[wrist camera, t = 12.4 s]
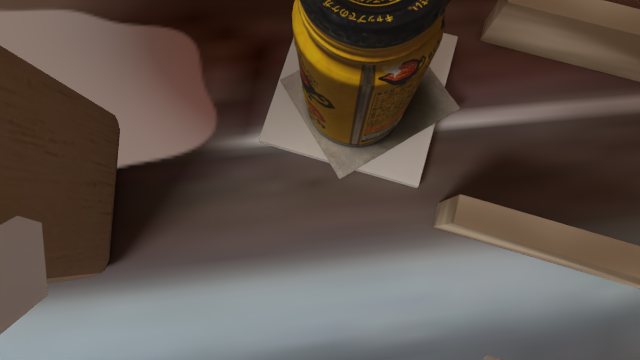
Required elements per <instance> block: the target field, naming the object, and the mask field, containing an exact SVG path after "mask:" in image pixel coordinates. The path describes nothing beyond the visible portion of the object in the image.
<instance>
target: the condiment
mask: <svg viewBox="0 0 640 360" xmlns="http://www.w3.org/2000/svg"><path fill="white" fill-rule="evenodd" d="M450 1H451V0H295V2H294V6H293V12H292V24H293V32H294V45H295V47H296V51H297V55H298V61H299V68H300V69H299V70H297V71H296V72H294V73H292V74H291V75H289V76H287V77H285V78H282V79H280V82H281V84H282V85H283V87H284V88H285V90H286V92H287V93H288V95H289V97H290V98H291V100H292V102H293V103H294V105H295V107H296V108H297V110H298V112H299V113H300V115H301V117H302V118H303V120H304V122H305V123H306V125H307V127H308V128H309V130H310V132H311V133H312V135H313V137H314V138H315V140H316V141H317V143H318V145H319V146H320V148H321V150H322V151H323V153H324V155H325V156H326V157H327V159H328V161H329V162H330V164H331V166H332V167H333V169H334V171H335V172H336V174H337V176H338V177H339V179H340V178H342V177H344V176H346V175H347V174H349V173H351V172H353V171H354V170H356V169H358V168H359V167H361V166H363V165H365V164H366V163H368V162H370V161H371V160H373V159H375V158H377V157H378V156H380V155H382V154H384V153H385V152H387V151H388V150H390V149H392V148H394V147H395V146H397V145H399V144H400V143H402V142H404V141H405V140H407V139H409V138H410V137H412V136H414V135H415V134H417V133H419V132H421V131H422V130H424V129H426V128H428V127H429V126H431V125H433V124H434V123H436V122H438V121H439V120H441V119H443V118H444V117H446V116H448V115H449V114H451V113H453V112H455V111H456V110H458V109H460V107H459V106H458V105H457V103H456V102H455V100H454V99H453V98H452V97H451V96H450V95H449V93H448V92H447V90H446V89H445V88H444V86H443V85H442V83H441V82H440V80H439V79H438V78H437V76H436V75H435V74H434V72H433V71H432V70H431V68H430V67H429V65H430V63H431V61H432V59H433V57H434V55H435V53H436V51H437V49H438V47H439V45H440V42H441V40H442V37H443V32H444V26H445V16H444V13H445V8H446V5H447V4H448V3H449V2H450Z"/></svg>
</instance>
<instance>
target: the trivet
mask: <svg viewBox="0 0 640 360" xmlns="http://www.w3.org/2000/svg"><path fill="white" fill-rule="evenodd" d="M457 39H458V37H457V36H454V35H450V34H446V33H443V37H442V40H441V42H440V45H439V47H438V49H437V51H436V53H435V55H434V57H433V59H432V61H431V63H430V65H429V67H430V68H431V70H432V71H433V72H434V74H435V75H436V76H437V78H438V79H439V80H440V82H441V83H442V85H443V86H444V88H445V84H446V80H447V77H448V73H449V69H450V65H451V62H452V58H453V54H454V50H455V46H456V43H457ZM299 69H300V68H299V61H298V55H297V51H296V47H295V45H294V37H293V40H292V43H291V46H290V49H289V52H288V55H287V58H286V61H285V64H284V67H283V70H282V73H281V76H280V79H282V78H285V77H287V76H289V75H291V74H292V73H294V72H296V71H297V70H299ZM280 79H279V82H278V85H277V88H276V91H275V94H274V97H273V99H272V102H271V105H270V108H269V111H268V114H267V117H266V120H265V123H264V126H263V129H262V132H261V135H260V138H259V142H260V143H262V144H266V145H269V146H273V147H276V148H280V149H283V150H287V151H290V152H293V153H297V154H300V155H304V156H307V157H311V158H314V159H318V160H321V161H324V162H328V163H330V162H329V161H328V159H327V157H326V156H325V155H324V153H323V151H322V150H321V148H320V146H319V145H318V143H317V141H316V140H315V138H314V137H313V135H312V133H311V132H310V130H309V128H308V127H307V125H306V123H305V122H304V120H303V118H302V117H301V115H300V113H299V112H298V110H297V108H296V107H295V105H294V103H293V102H292V100H291V98H290V97H289V95H288V93H287V92H286V90H285V88H284V87H283V85H282V84H281V82H280ZM434 126H435V123H434V124H433V125H431V126H429V127H428V128H426V129H424V130H422V131H421V132H419V133H417V134H415V135H414V136H412V137H410V138H409V139H407V140H405V141H404V142H402V143H400V144H399V145H397V146H395V147H394V148H392V149H390V150H388V151H387V152H385V153H384V154H382V155H380V156H378V157H377V158H375V159H373V160H371V161H370V162H368V163H366V164H365V165H363V166H361V167H359V168H358V169H356V170H355V171H359V172H362V173H366V174H369V175H373V176H376V177H380V178H383V179H386V180H390V181H393V182H397V183H400V184H404V185H407V186H411V187H414V188H417V187H418V186H419V182H420V179H421V175H422V171H423V167H424V164H425V160H426V156H427V152H428V148H429V145H430V141H431V137H432V133H433V130H434Z"/></svg>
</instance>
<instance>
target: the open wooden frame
mask: <svg viewBox="0 0 640 360" xmlns="http://www.w3.org/2000/svg"><path fill="white" fill-rule="evenodd" d="M480 41H483V42H487V43H491V44H495V45H499V46H502V47H506V48H510V49H514V50H518V51H522V52H526V53H530V54H533V55H537V56H541V57H545V58H549V59H553V60H557V61H560V62H564V63H568V64H572V65H576V66H580V67H584V68H588V69H591V70H595V71H599V72H603V73H607V74H611V75H615V76H619V77H622V78H626V79H630V80H634V81H638V82H640V9H637V8H633V7H629V6H624V5H620V4H616V3H612V2H608V1H604V0H498V2H497V3H496V5H495V6H494V8H493V9H492V11H491V12H490V13H489V15H488V16H487V18H486V19H485V22H484V26H483V30H482V34H481V38H480ZM432 227H434V228H437V229H440V230H444V231H447V232H451V233H454V234H457V235H461V236H464V237H467V238H471V239H474V240H478V241H481V242H484V243H488V244H491V245H494V246H498V247H501V248H504V249H508V250H511V251H515V252H518V253H521V254H525V255H528V256H531V257H535V258H538V259H541V260H545V261H548V262H552V263H555V264H558V265H562V266H565V267H568V268H572V269H575V270H579V271H582V272H585V273H589V274H592V275H595V276H599V277H602V278H605V279H609V280H612V281H616V282H619V283H622V284H626V285H629V286H632V287H636V288H639V289H640V246H638V245H634V244H631V243H628V242H624V241H621V240H617V239H614V238H610V237H607V236H603V235H600V234H596V233H593V232H589V231H586V230H583V229H579V228H576V227H572V226H569V225H565V224H562V223H558V222H555V221H551V220H548V219H544V218H541V217H538V216H534V215H531V214H527V213H524V212H520V211H517V210H513V209H510V208H506V207H503V206H499V205H496V204H493V203H489V202H486V201H482V200H479V199H475V198H472V197H468V196H465V195H461V194H460V195H457V196H455V197H452V198H450V199H447V200H445V201H442V202H440V203H438V207H437V211H436V214H435V218H434V222H433V226H432Z"/></svg>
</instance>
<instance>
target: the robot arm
mask: <svg viewBox="0 0 640 360" xmlns="http://www.w3.org/2000/svg"><path fill="white" fill-rule="evenodd" d="M47 295H48V290H47V278H46V267H45V255H44V244H43V232H42V223H40V222H37V221H34V220H30V219H27V218H23V217H20V216H16V217H14V218H12V219H10V220H9V221H7V222H5V223H3V224H1V225H0V334H1V333H3V332H4V331H5V330H6V329H7V328H9V327H10V326H11V325H12V324H13V323H15V322H16V321H17V320H18V319H19V318H21V317H22V316H23V315H24V314H26V313H27V312H28V311H29V310H30V309H32V308H33V307H34V306H35V305H36V304H38V303H39V302H40V301H41V300H42V299H44V298H45V297H46V296H47ZM483 360H501V359H497V358H494V357H491V356H487V355H486V356H485V358H484V359H483Z"/></svg>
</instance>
